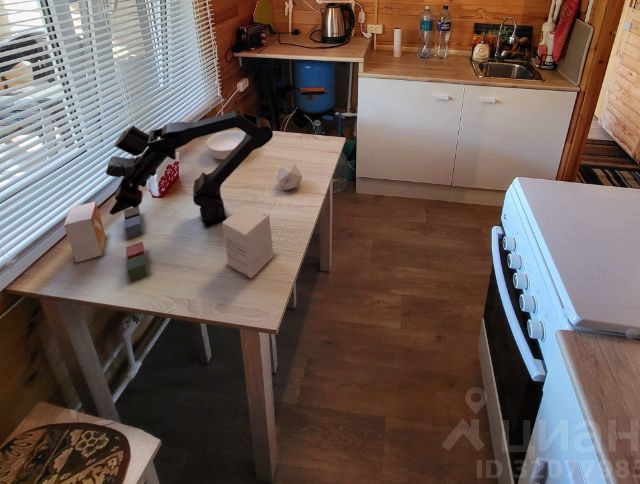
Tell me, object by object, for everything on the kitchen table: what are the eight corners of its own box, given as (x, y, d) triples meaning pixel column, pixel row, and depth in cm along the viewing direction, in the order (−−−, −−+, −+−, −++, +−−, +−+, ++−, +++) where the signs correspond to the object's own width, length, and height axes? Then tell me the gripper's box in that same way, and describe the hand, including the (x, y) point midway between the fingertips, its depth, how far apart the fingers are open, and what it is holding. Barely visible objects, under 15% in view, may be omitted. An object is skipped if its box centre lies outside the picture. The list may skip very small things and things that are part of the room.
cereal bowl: (244, 166, 149) (242, 150, 147) (202, 165, 150) (199, 150, 147) (255, 144, 165) (254, 129, 163) (217, 143, 165) (215, 129, 163)
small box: (102, 255, 107) (91, 218, 103) (75, 263, 105) (62, 225, 100) (106, 236, 114) (96, 200, 110) (81, 242, 112) (69, 206, 107)
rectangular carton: (251, 244, 112) (246, 202, 107) (274, 256, 108) (270, 213, 102) (227, 265, 105) (220, 222, 99) (250, 279, 100) (245, 235, 95)
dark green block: (146, 265, 104) (143, 253, 103) (147, 275, 101) (144, 264, 100) (129, 271, 103) (126, 259, 101) (130, 282, 99) (127, 270, 98)
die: (272, 188, 138) (273, 179, 130) (283, 166, 143) (284, 156, 135) (293, 197, 138) (295, 189, 129) (304, 175, 143) (306, 166, 135)
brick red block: (145, 252, 109) (142, 241, 107) (146, 261, 105) (143, 250, 104) (129, 258, 107) (126, 247, 105) (129, 268, 104) (126, 256, 102)
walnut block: (141, 215, 123) (138, 205, 121) (141, 223, 120) (139, 212, 118) (126, 220, 121) (124, 210, 119) (127, 227, 118) (124, 217, 116)
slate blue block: (142, 225, 119) (139, 215, 117) (143, 233, 115) (140, 223, 114) (127, 230, 117) (124, 220, 115) (127, 238, 113) (125, 228, 112)
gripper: (127, 133, 112) (92, 173, 112) (116, 166, 96) (76, 213, 96) (161, 150, 118) (129, 189, 118) (156, 185, 101) (119, 229, 102)
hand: (113, 203), depth 108 cm, fingers open, 9 cm apart
